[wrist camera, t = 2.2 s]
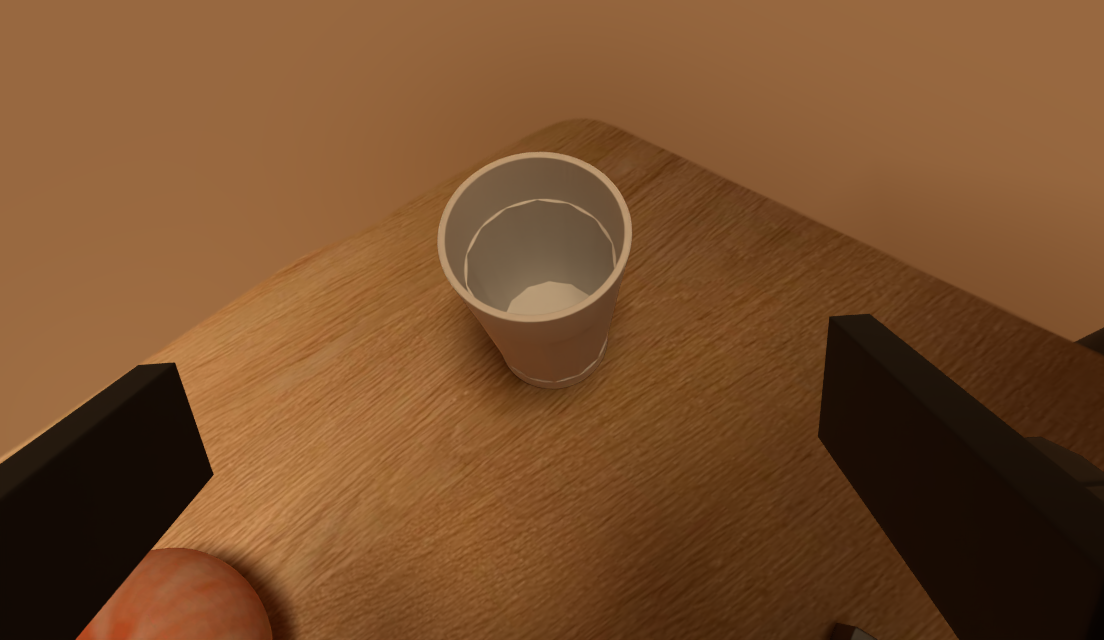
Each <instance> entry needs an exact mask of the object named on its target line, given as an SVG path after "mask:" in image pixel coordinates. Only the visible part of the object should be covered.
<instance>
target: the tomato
mask: <svg viewBox="0 0 1104 640" xmlns="http://www.w3.org/2000/svg"><path fill="white" fill-rule="evenodd" d="M76 640H273V639H272V631H271V626H270V622H269V619H268V616H267V613H266V611H265V608H264V606H263V604H262V602H261V600H260V598H259V596H258V595H257V593H256V592H255V591H254V589H253V588H252V586H251V585H250V584H249V583H248V582H247V581H246V579H245V578H244V577H243V576H242V575H241V574H240V573H238V572H237V571H236V570H235V569H234V568H232V567H231V566H229V565H228V564H227V563H225V562H224V561H222V560H220V559H218V558H216V557H214V556H211V555H209V554H206V553H203V552H200V551H196V550H192V549H185V548H165V549H156V550H150V551H149V553H148V554H147V555H146V556H145V557H144V558H143V560H142V561H141V562H140V563H139V564H138V566H137V567H136V568H135V569H134V570H133V572H132V573H131V574H130V575H129V576H128V578H127V579H126V580H125V581H124V582H123V584H122V585H121V586H120V587H119V588H118V590H117V591H116V592H115V593H114V594H113V595H112V597H111V598H110V599H109V600H108V601H107V603H106V604H105V605H104V606H103V607H102V609H101V610H100V611H99V612H98V613H97V615H96V616H95V617H94V618H93V619H92V621H91V622H90V623H89V624H88V625H87V626H86V628H85V629H84V630H83V631H82V632H81V634H80V635H79V636H78V637H77V638H76Z"/></svg>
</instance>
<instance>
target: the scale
mask: <svg viewBox="0 0 1104 640" xmlns="http://www.w3.org/2000/svg"><path fill="white" fill-rule="evenodd" d="M830 640H877V639H876V638H874V637H872V636H871V635H869V634H867V633H866V632H864V631H863V630H861V629H859V628H858V627H855V626H850V625H844V624H839V623H837V624H836V627H835V629H834V631H833V634H832V636H831V638H830Z"/></svg>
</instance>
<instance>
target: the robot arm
mask: <svg viewBox="0 0 1104 640" xmlns="http://www.w3.org/2000/svg"><path fill="white" fill-rule="evenodd" d="M818 438H819V439H820V440H821V442H822V443H823V445H824V446H825V448H826V449H827V450H828V452H829V453H830V455H831V456H832V458H833V459H834V460H835V462H836V463H837V465H838V466H839V468H840V469H841V471H842V472H843V473H844V475H845V476H846V478H847V479H848V481H849V482H850V483H851V485H852V486H853V488H854V489H855V491H856V492H857V493H858V495H859V496H860V498H861V499H862V501H863V502H864V504H865V505H866V506H867V508H868V509H869V511H870V512H871V514H872V515H873V516H874V518H875V519H876V521H877V522H878V524H879V525H880V526H881V528H882V529H883V531H884V532H885V534H886V535H887V537H888V538H889V539H890V541H891V542H892V544H893V545H894V547H895V548H896V549H897V551H898V552H899V554H900V555H901V557H902V558H903V559H904V561H905V562H906V564H907V565H908V567H909V568H910V570H911V571H912V572H913V574H914V575H915V577H916V578H917V580H918V581H919V582H920V584H921V585H922V587H923V588H924V590H925V591H926V592H927V594H928V595H929V597H930V598H931V600H932V601H933V603H934V604H935V605H936V607H937V608H938V610H939V611H940V613H941V614H942V615H943V617H944V618H945V620H946V621H947V623H948V624H949V626H950V627H951V628H952V630H953V631H954V633H955V634H956V636H957V637H958V638H959V640H1104V472H1103V471H1101V470H1100V469H1099V468H1097V467H1096V466H1095V465H1093V464H1092V463H1091V462H1089V461H1088V460H1087V459H1085V458H1084V457H1083V456H1081V455H1079V454H1076V453H1074V452H1072V451H1070V450H1068V449H1066V448H1064V447H1062V446H1059V445H1057V444H1055V443H1053V442H1051V441H1049V440H1047V439H1044V438H1042V437H1027V438H1023V437H1022V436H1021V435H1020V434H1019V433H1017V432H1016V431H1015V430H1014V429H1012V428H1011V427H1010V426H1009V425H1007V424H1006V423H1005V422H1004V421H1002V420H1001V419H1000V418H999V417H997V416H996V415H995V414H994V413H992V412H991V411H990V410H989V409H987V408H986V407H985V406H984V405H982V404H981V403H980V402H979V401H977V400H976V399H975V398H974V397H972V396H971V395H970V394H969V393H967V392H966V391H965V390H964V389H962V388H961V387H960V386H959V385H957V384H956V383H955V382H954V381H952V380H951V379H950V378H949V377H948V376H946V375H945V374H944V373H943V372H941V371H940V370H939V369H938V368H936V367H935V366H934V365H933V364H931V363H930V362H929V361H928V360H926V359H925V358H924V357H923V356H921V355H920V354H919V353H918V352H916V351H915V350H914V349H913V348H911V347H910V346H909V345H908V344H906V343H905V342H904V341H903V340H901V339H900V338H899V337H898V336H896V335H895V334H894V333H893V332H891V331H890V330H889V329H888V328H886V327H885V326H884V325H883V324H881V323H880V322H879V321H878V320H877V319H875V318H874V317H873V316H872V315H870V314H859V315H845V316H831V317H829V327H828V338H827V348H826V359H825V369H824V380H823V390H822V401H821V411H820V422H819V432H818ZM213 475H214V474H213V471H212V469H211V466H210V463H209V460H208V457H207V454H206V451H205V448H204V445H203V442H202V440H201V437H200V434H199V431H198V428H197V425H196V422H195V419H194V416H193V413H192V411H191V408H190V405H189V402H188V399H187V396H186V393H185V390H184V387H183V384H182V382H181V379H180V376H179V373H178V370H177V367H176V364H175V363H161V364H146V365H138V366H136V367H135V368H134V369H132V370H131V371H129V372H128V373H127V374H125V375H124V376H122V377H121V378H120V379H118V380H117V381H115V382H114V383H113V384H111V385H110V386H108V387H107V388H106V389H104V390H103V391H101V392H100V393H99V394H97V395H96V396H95V397H93V398H92V399H90V400H89V401H88V402H86V403H85V404H83V405H82V406H81V407H79V408H78V409H76V410H75V411H74V412H72V413H71V414H69V415H68V416H67V417H65V418H64V419H62V420H61V421H60V422H58V423H57V424H55V425H54V426H53V427H51V428H50V429H49V430H47V431H46V432H44V433H43V434H42V435H40V436H39V437H37V438H36V439H35V440H33V441H32V442H30V443H29V444H28V445H26V446H25V447H23V448H22V449H21V450H19V451H18V452H16V453H15V454H14V455H12V456H11V457H9V458H8V459H7V460H5V461H4V462H3V463H1V464H0V640H76V638H77V637H78V636H79V635H80V634H81V632H82V631H83V630H84V629H85V628H86V626H87V625H88V624H89V623H90V622H91V621H92V619H93V618H94V617H95V616H96V615H97V613H98V612H99V611H100V610H101V609H102V607H103V606H104V605H105V604H106V603H107V601H108V600H109V599H110V598H111V597H112V595H113V594H114V593H115V592H116V591H117V590H118V588H119V587H120V586H121V585H122V584H123V582H124V581H125V580H126V579H127V578H128V576H129V575H130V574H131V573H132V572H133V570H134V569H135V568H136V567H137V566H138V564H139V563H140V562H141V561H142V560H143V558H144V557H145V556H146V555H147V554H148V553H149V551H150V550H151V549H152V548H153V547H154V545H155V544H156V543H157V542H158V541H159V539H160V538H161V537H162V536H163V535H164V533H165V532H166V531H167V530H168V529H169V527H170V526H171V525H172V524H173V523H174V522H175V520H176V519H177V518H178V517H179V516H180V514H181V513H182V512H183V511H184V510H185V508H186V507H187V506H188V505H189V504H190V502H191V501H192V500H193V499H194V498H195V496H196V495H197V494H198V493H199V492H200V490H201V489H202V488H203V487H204V486H205V485H206V483H207V482H208V481H209V480H210V479H211V477H212V476H213Z"/></svg>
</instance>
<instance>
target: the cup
mask: <svg viewBox="0 0 1104 640" xmlns="http://www.w3.org/2000/svg"><path fill="white" fill-rule="evenodd" d="M631 242H632V224H631V218H630V214H629V210H628V207H627V205H626V203H625V200H624V198H623V197H622V195H621V193H620V192H619V190H618V189H617V187H616V186H615V185H614V184H613V183H612V182H611V180H610V179H609V178H607V177H606V176H605V175H604V174H603V173H602V172H600V171H599V170H598V169H596V168H595V167H593V166H591V165H590V164H588V163H586V162H584V161H582V160H579V159H577V158H574V157H571V156H567V155H563V154H558V153H551V152H529V153H521V154H516V155H512V156H508V157H505V158H502V159H499V160H497V161H495V162H492V163H490V164H488V165H486V166H485V167H483V168H481V169H480V170H478V171H477V172H475V173H474V174H473V175H471V176H470V177H469V178H468V179H467V180H466V181H464V182H463V183H462V184H461V186H460V187H459V188H458V189H457V190H456V191H455V193H454V194H453V195H452V197H451V198H450V200H449V202H448V204H447V205H446V207H445V210H444V212H443V214H442V217H441V220H440V224H439V229H438V254H439V259H440V262H441V266H442V268H443V271H444V273H445V275H446V277H447V279H448V281H449V282H450V284H451V285H452V286H453V288H454V289H455V290H456V292H457V293H458V294H459V296H460V297H461V298H462V300H463V301H464V302H465V304H466V305H467V306H468V308H469V309H470V310H471V312H472V313H473V314H474V316H475V317H476V318H477V319H478V321H479V322H480V323H481V325H482V326H483V328H484V329H485V331H486V332H487V333H488V335H489V336H490V338H491V339H492V341H493V342H494V343H495V345H496V346H497V348H498V349H499V350H500V352H501V353H502V355H503V358H504V360H505V362H506V364H507V365H508V367H509V368H510V369H511V371H512V372H513V373H514V374H515V375H516V376H517V377H519V378H520V379H521V380H523V381H525V382H526V383H528V384H531V385H533V386H536V387H540V388H546V389H559V388H565V387H569V386H572V385H574V384H577V383H579V382H581V381H582V380H584V379H585V378H587V377H588V376H589V375H590V374H591V373H593V372H594V370H595V369H596V368H597V367H598V365H599V364H600V362H601V361H602V359H603V357H604V354H605V351H606V347H607V340H608V332H609V328H610V324H611V320H612V316H613V312H614V308H615V304H616V300H617V295H618V291H619V288H620V285H621V281H622V277H623V274H624V270H625V267H626V263H627V260H628V256H629V253H630V248H631Z"/></svg>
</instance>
